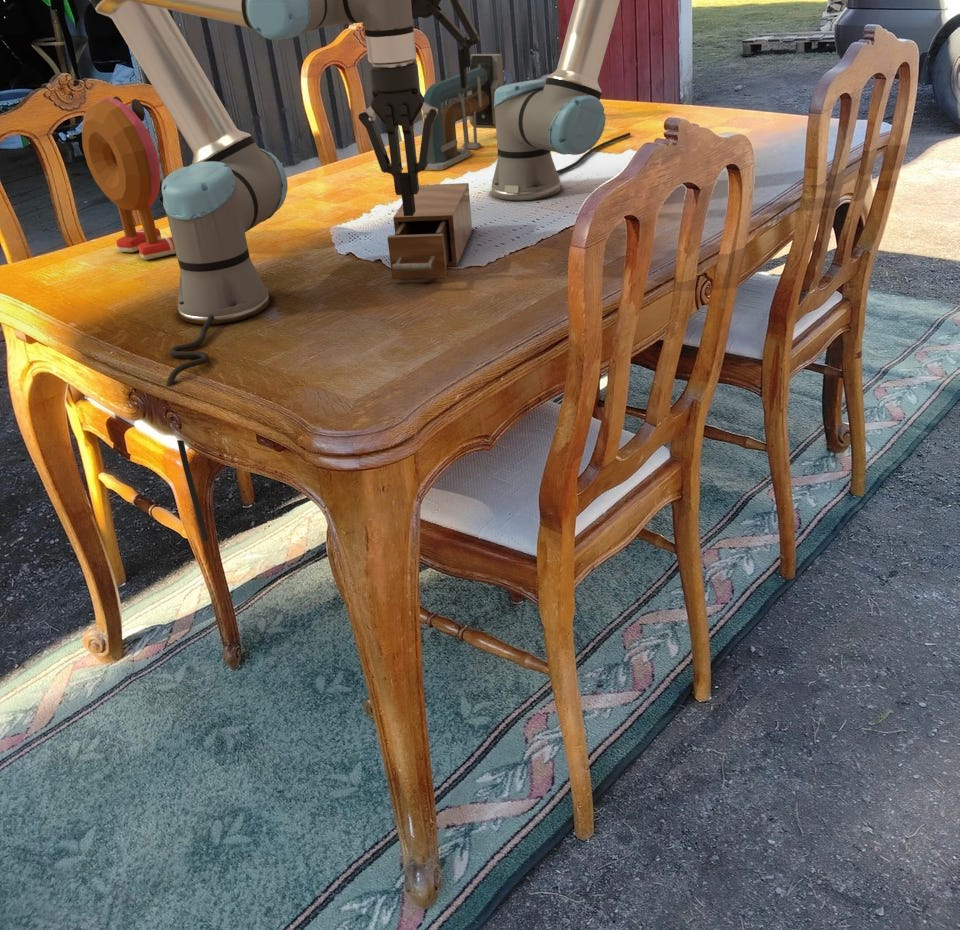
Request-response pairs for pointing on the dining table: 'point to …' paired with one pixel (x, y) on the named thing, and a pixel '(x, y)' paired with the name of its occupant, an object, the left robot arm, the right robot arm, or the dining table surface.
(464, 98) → the clamp
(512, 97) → the right robot arm
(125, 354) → the dining table surface
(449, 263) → the cabinet
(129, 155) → the toy
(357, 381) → the dining table surface
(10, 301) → the dining table surface
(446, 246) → the drawer
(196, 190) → the left robot arm
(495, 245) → the dining table surface
